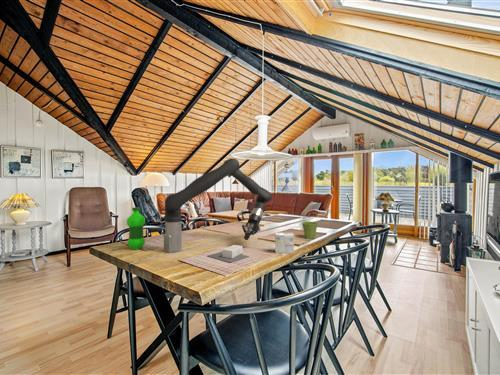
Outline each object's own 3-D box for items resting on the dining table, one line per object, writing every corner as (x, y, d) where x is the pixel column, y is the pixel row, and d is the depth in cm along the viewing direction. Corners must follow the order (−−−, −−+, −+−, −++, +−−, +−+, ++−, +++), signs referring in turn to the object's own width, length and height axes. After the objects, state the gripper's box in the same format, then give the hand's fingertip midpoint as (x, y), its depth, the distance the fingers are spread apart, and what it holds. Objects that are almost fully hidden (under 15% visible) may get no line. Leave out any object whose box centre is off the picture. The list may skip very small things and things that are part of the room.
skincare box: (233, 252, 145) (222, 257, 134) (233, 244, 144) (222, 249, 134) (242, 253, 142) (232, 258, 131) (242, 245, 142) (232, 250, 131)
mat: (230, 263, 125) (230, 262, 125) (207, 256, 137) (207, 255, 137) (249, 256, 136) (249, 256, 136) (225, 251, 148) (225, 250, 148)
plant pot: (299, 236, 189) (299, 221, 189) (314, 236, 190) (314, 221, 190) (304, 240, 177) (304, 224, 177) (320, 239, 178) (320, 223, 178)
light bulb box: (293, 250, 149) (293, 232, 149) (294, 253, 142) (294, 234, 142) (275, 250, 150) (275, 232, 150) (275, 253, 143) (275, 234, 143)
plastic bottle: (146, 248, 154) (146, 207, 154) (127, 251, 148) (127, 208, 148) (144, 245, 162) (143, 206, 162) (125, 247, 157) (125, 207, 156)
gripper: (244, 212, 162) (234, 234, 152) (263, 213, 155) (253, 237, 145) (249, 219, 167) (238, 241, 156) (267, 221, 160) (257, 244, 150)
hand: (245, 239), depth 151 cm, fingers closed
